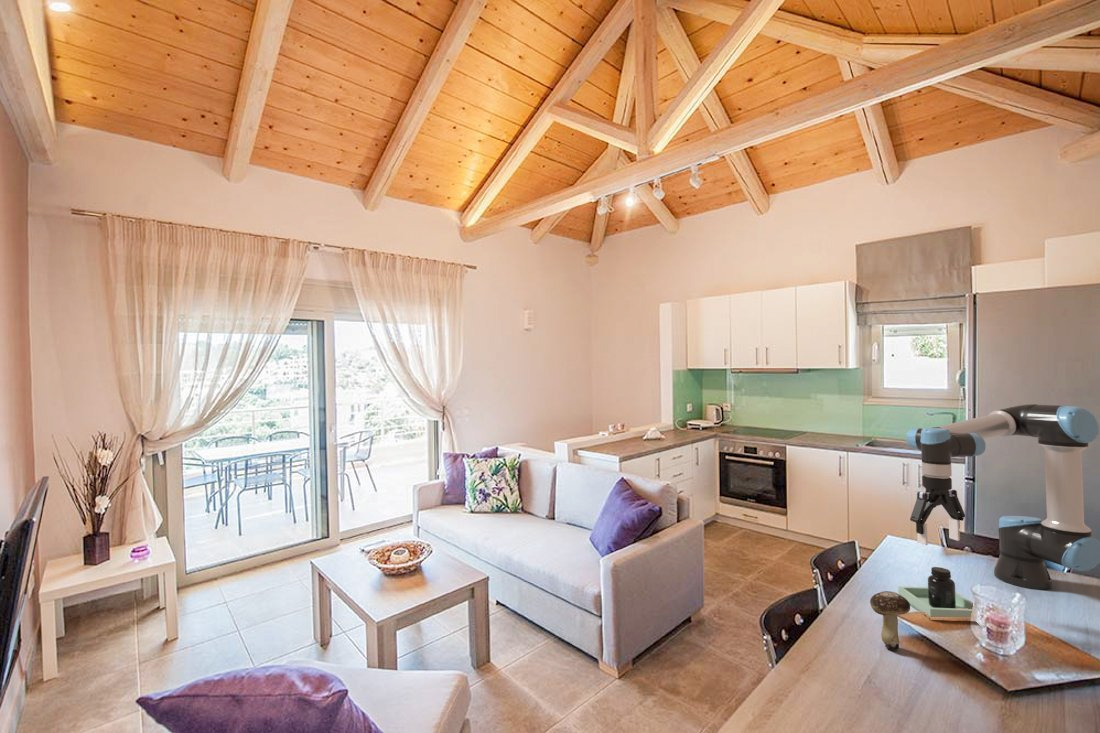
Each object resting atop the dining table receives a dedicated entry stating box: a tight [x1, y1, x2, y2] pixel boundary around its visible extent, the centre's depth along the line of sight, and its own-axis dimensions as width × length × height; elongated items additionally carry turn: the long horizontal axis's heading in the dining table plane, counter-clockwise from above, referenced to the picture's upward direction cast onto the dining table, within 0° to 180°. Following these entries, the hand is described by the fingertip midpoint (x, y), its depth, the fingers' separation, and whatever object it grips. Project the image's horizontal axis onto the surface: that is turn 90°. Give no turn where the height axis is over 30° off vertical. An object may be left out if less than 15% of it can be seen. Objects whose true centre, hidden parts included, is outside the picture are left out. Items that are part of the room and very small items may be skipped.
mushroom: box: [869, 590, 911, 652], centre depth 133 cm, size 9×9×15 cm
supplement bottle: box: [927, 566, 956, 609], centre depth 155 cm, size 7×7×12 cm
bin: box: [897, 585, 974, 617], centre depth 155 cm, size 16×16×4 cm
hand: (938, 541), depth 155 cm, fingers open, 13 cm apart
